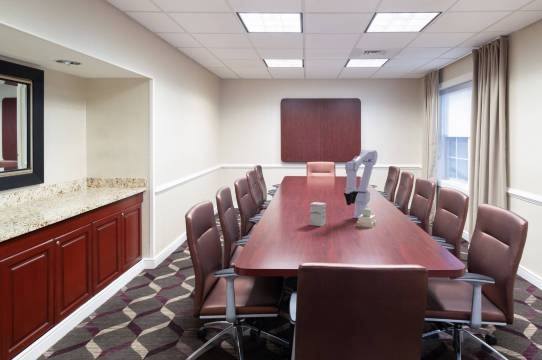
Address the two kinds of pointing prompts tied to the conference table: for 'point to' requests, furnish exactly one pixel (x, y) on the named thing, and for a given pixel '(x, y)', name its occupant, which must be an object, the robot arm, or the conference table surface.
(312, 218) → the supplement box
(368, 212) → the sage capsule
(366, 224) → the base slab
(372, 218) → the top slab
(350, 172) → the robot arm
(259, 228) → the conference table surface
